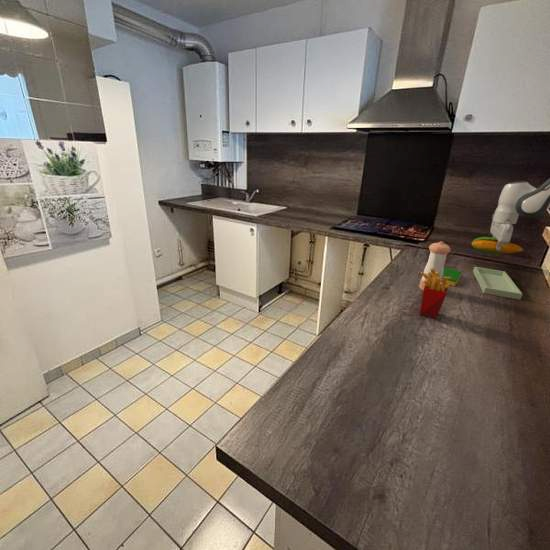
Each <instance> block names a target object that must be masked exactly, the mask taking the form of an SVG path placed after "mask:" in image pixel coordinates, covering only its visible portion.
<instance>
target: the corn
mask: <svg viewBox="0 0 550 550" xmlns="http://www.w3.org/2000/svg"><path fill="white" fill-rule="evenodd" d="M497 244H498V240H497V239H496V238H493V236H492V237H490V236H481V237H477V238H474V239H473V240H471V246H472V249H474V250H475V251H478V252H481V253H488V254H493V255H504V254H515V253H520V252H522V251H524V249H523V248H522V247H521V246H520V245H518V244H515V243H511V242H509V243H504V244H503V246H502V247H501V250H496V245H497Z"/></svg>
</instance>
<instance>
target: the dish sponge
mask: <svg viewBox="0 0 550 550" xmlns="http://www.w3.org/2000/svg"><path fill="white" fill-rule="evenodd" d="M462 274H463V271H461V270H457V269H452V268H448V267H444V271H443V277H450V276H451V279H448V280H446V284H445V285H449V286H452V287H455V286H457V283H458V282H459V280H460V278H461V277H462ZM443 277H442V280H443ZM442 280H441V281H442Z"/></svg>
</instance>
